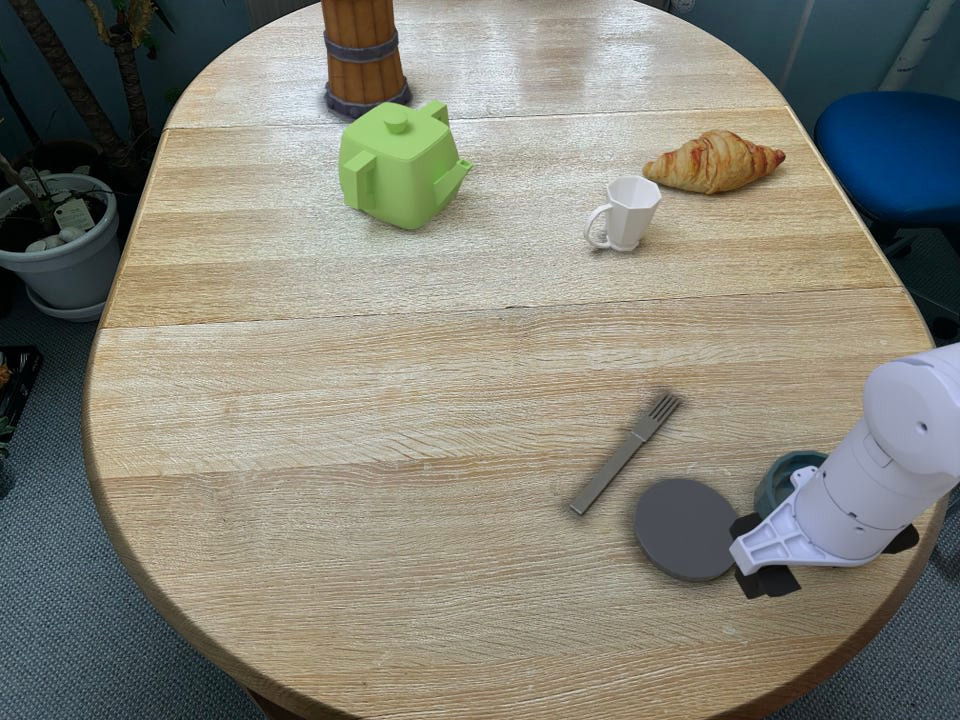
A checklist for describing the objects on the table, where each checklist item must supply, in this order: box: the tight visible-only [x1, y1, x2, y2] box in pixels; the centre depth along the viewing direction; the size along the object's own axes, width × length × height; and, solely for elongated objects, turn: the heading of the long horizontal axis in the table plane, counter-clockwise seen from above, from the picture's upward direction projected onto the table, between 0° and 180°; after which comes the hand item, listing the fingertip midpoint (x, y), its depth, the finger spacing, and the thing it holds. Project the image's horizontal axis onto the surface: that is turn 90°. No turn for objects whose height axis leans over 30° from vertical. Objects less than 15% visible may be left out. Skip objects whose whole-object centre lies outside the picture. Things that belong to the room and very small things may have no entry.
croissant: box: [641, 128, 787, 195], centre depth 96 cm, size 21×10×8 cm, turn 100°
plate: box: [632, 477, 739, 583], centre depth 64 cm, size 10×10×1 cm
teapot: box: [337, 98, 474, 230], centre depth 88 cm, size 18×20×13 cm
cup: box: [582, 174, 663, 252], centre depth 86 cm, size 7×10×8 cm
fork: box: [569, 391, 681, 517], centre depth 69 cm, size 18×2×1 cm, turn 139°
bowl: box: [753, 449, 830, 521], centre depth 64 cm, size 10×10×4 cm
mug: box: [320, 0, 414, 123], centre depth 103 cm, size 19×14×20 cm
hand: (787, 570), depth 52 cm, fingers open, 7 cm apart
